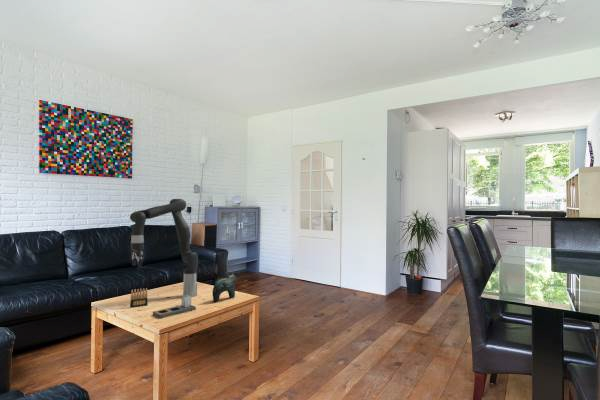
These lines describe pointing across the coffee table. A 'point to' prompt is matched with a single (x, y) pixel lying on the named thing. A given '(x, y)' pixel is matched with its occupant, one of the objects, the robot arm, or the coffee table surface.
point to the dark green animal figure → (224, 287)
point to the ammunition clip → (139, 298)
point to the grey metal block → (186, 301)
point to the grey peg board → (172, 311)
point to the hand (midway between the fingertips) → (137, 266)
